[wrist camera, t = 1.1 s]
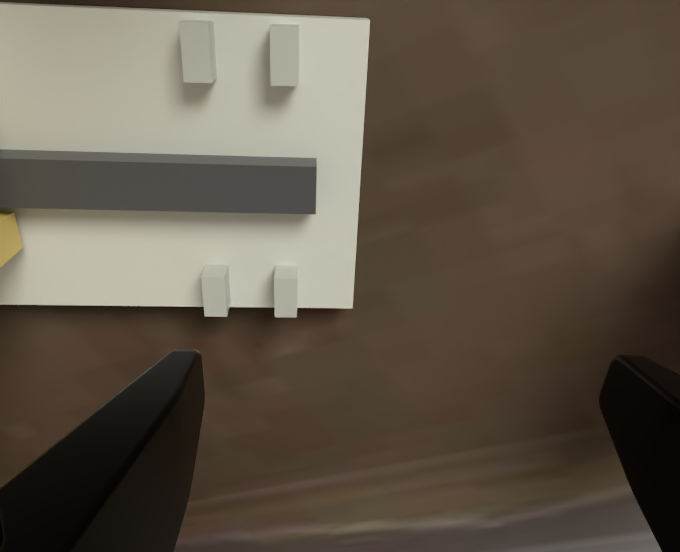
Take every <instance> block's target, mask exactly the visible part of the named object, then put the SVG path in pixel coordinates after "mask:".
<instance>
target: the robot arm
mask: <svg viewBox="0 0 680 552" xmlns="http://www.w3.org/2000/svg"><path fill="white" fill-rule="evenodd" d="M204 399H205V391H204V379H203V368H202V358H201V354H200V352H199V351H197V350H173V351H171V352H170V353H168V354H167V355H166V356H165V357H163V358H162V359H161V360H160V361H158V362H157V363H156V364H155V365H153V366H152V367H151V368H149V369H148V370H147V371H146V372H144V373H143V374H142V375H141V376H139V377H138V378H137V379H136V380H134V381H133V382H132V383H131V384H129V385H128V386H127V387H126V388H124V389H123V390H122V391H121V392H119V393H118V394H117V395H115V396H114V397H113V398H112V399H110V400H109V401H108V402H107V403H105V404H104V405H103V406H102V407H100V408H99V409H98V410H97V411H95V412H94V413H93V414H92V415H90V416H89V417H88V418H87V419H85V420H84V421H83V422H81V423H80V424H79V425H78V426H76V427H75V428H74V429H73V430H71V431H70V432H69V433H68V434H66V435H65V436H64V437H63V438H61V439H60V440H59V441H58V442H56V443H55V444H54V445H53V446H51V447H50V448H49V449H47V450H46V451H45V452H44V453H42V454H41V455H40V456H39V457H37V458H36V459H35V460H34V461H32V462H31V463H30V464H29V465H27V466H26V467H25V468H24V469H22V470H21V471H20V472H19V473H17V474H16V475H15V476H13V477H12V478H11V479H10V480H8V481H7V482H6V483H5V484H3V485H2V486H1V487H0V552H174V549H175V545H176V542H177V538H178V535H179V531H180V528H181V524H182V521H183V517H184V514H185V510H186V506H187V502H188V499H189V495H190V489H191V484H192V479H193V472H194V466H195V460H196V453H197V447H198V441H199V434H200V428H201V422H202V415H203V409H204ZM599 404H600V409H601V412H602V415H603V417H604V420H605V422H606V425H607V428H608V430H609V433H610V435H611V438H612V441H613V443H614V446H615V449H616V451H617V454H618V456H619V459H620V462H621V464H622V467H623V469H624V472H625V475H626V477H627V480H628V482H629V485H630V487H631V489H632V492H633V494H634V496H635V498H636V500H637V502H638V504H639V507H640V509H641V511H642V513H643V515H644V516H645V518H646V520H647V522H648V524H649V526H650V528H651V530H652V532H653V534H654V536H655V538H656V540H657V542H658V544H659V546H660V548H661V550H662V552H680V375H679V374H677V373H675V372H673V371H671V370H669V369H667V368H665V367H663V366H661V365H659V364H657V363H655V362H653V361H651V360H649V359H647V358H646V357H643V356H639V355H618V356H616V357H615V358H613V360H612V361H611V363H610V366H609V369H608V372H607V375H606V377H605V380H604V383H603V386H602V389H601V392H600V397H599Z"/></svg>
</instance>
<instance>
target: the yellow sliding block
mask: <svg viewBox="0 0 680 552" xmlns="http://www.w3.org/2000/svg"><path fill="white" fill-rule="evenodd" d="M22 248H23V245H22V241H21V237H20V233H19V229H18V225H17V221H16V217H15V213H14V212H8V211H0V268H1V267H2V266H3V265H4V264H5V263H6V262H7V261H8V260H9V259H11V258H12V257H13V256H14V255H15V254H16V253H17V252H18V251H19V250H20V249H22Z"/></svg>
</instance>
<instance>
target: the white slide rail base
mask: <svg viewBox="0 0 680 552" xmlns="http://www.w3.org/2000/svg"><path fill="white" fill-rule="evenodd" d="M369 30H370V20H369V19H367V18H354V17H331V16H308V15H286V14H263V13H240V12H217V11H194V10H172V9H149V8H126V7H103V6H80V5H57V4H35V3H12V2H0V211H8V212H14V213H15V217H16V221H17V225H18V229H19V233H20V237H21V241H22V245H23V248H22V249H20V250H19V251H18V252H17V253H16V254H15V255H14V256H13V257H12V258H11V259H9V260H8V261H7V262H6V263H5V264H4V265H3V266H2V267H1V268H0V305H87V306H178V307H204V316H205V317H227V315H228V311H229V307H269V308H275V317H297V308H353V292H354V275H355V259H356V243H357V226H358V210H359V194H360V177H361V161H362V145H363V128H364V112H365V96H366V79H367V63H368V47H369Z"/></svg>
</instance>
